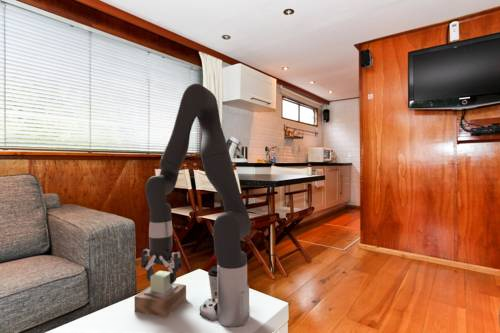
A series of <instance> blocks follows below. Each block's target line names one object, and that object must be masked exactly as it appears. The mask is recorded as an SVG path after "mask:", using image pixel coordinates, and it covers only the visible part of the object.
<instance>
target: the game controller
mask: <svg viewBox="0 0 500 333" xmlns="http://www.w3.org/2000/svg"><path fill="white" fill-rule="evenodd" d="M216 307H217V299H213V298H212V297H211V298H207V299H206V300H205V301H204V302H203V303H202V304H201V305H200V306H199V315H200V316H204V317H207V318H208V319H209V320H211V321H216V320H218V314H217V311H216V310H215V309H216ZM217 308H218V307H217Z"/></svg>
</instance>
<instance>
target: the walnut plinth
mask: <svg viewBox="0 0 500 333" xmlns="http://www.w3.org/2000/svg"><path fill="white" fill-rule="evenodd" d="M186 300H187V285H186V284H181V283H175V282H174V283H173V284H172V287H171V288H169V289H168V290H167V291H166V292H164V293H159V292H153V291H151V285H149V286H147V287H146V288H145V289H143V290H142V291H140V292H139V293H138V294H136V295H134V313H140V314H145V315H152V316H155V317H156V316H157V317H163V318H168V317H169V316H170V315H171V314H172V313H173V312H174V311H176V310H177V309H178V308H179V307H180V306H181V304H183V303H184V302H185V301H186Z"/></svg>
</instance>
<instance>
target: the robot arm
mask: <svg viewBox="0 0 500 333" xmlns="http://www.w3.org/2000/svg"><path fill="white" fill-rule="evenodd" d="M181 96H182V97H181V100H180V102H179V107H178V109H177V113H176V117H175V121H174V124H173V127H172V132H171V134H170V137H169V140H168V142H167V144H166V147H165V149H164V150H163V153H162V154H161V158H160V160H159V166H160V168H161V169H160V173H159V174H158V175H154V176H153V175H152V176H151V177H150V178H148V180H146V184H145V191H144V192H145V196H146V197H145V198H146V201H147V205H148V207H149V226H148V244H149V245H148V247H149V248H145V249H143V250H142V251H141V257H140V258H141V260H140V262H141V263H140V266H141V268H142V269H143V268H144V269H145V270H146V279H147V281H148V282H150V276H152V275H153V274H154V268H153V267H154V266H155V265H161V266H164V267H165V269H168V272H170V284H173V283H174V284H175V283H176V281H177V272H179V271H180V270H182V268H183V267H182V265H183V264H182V253H181V251H177V252H173V222H172V219H173V218H172V206H171V204H170V203H168V202H167V197H166V196H167V195H170V194H171V193H172V192H173V191H174V189H175V187H176V185H177V182H178V178H179V173H180V170H181V167H182V165H183V163H184V162H185V159H186V157H187V155H188V152H189V148H190V147H189V146H190V137H191V132H192V127H193V124H194V122H195V120H196V118H197V121H198V124H199V127H200V131H201V144H200V158H201V159H200V160H201V162H202V165H203V166H202V167H203V170H204V173H205V176H206V178H207V179H208V182H209V183H210V184H211V185H212V187H213V188H214V190H216V192H217V194H218V196H219V197H220V199H221V202H222V205H223V209H224V213H221V214H218V215H217V217H216V218H215V219H214V223H213V232H212V233H213V247H214V250H213V251H214V255H215V258H216V260H217V262H216V266H217V311H216V315H217V322H218V323H219V324H220V325H222V326H224V327H238V326H242V327H243V326H245V324H246V322H247V320H248V319H249V317H250V286H249V284H248V257H247V253H246V252H245V251H244V250H242V248H241V240H242V239H244V238H246V237H247V236H248V235H249V234H250V232H251V228H252V224H251V222H252V221H251V218H250V215H249V212H248V209H247V208H246V205H245V201H244V200H243V196H242V194H241V192H240V188H239V184H238V179H237V177H236V173H235V170H234V169H235V168H234V165H233V161H232V158H231V154H230V150H229V147H228V144H227V140H226V137H225V134H224V131H223V128H222V124H221V119H220V118H221V117H220V112H219V106H218V100H217V98H216V96H215V94H214V93H213V92H212V91H211V90H209V89H208V88H206V87H205V86H203V85H202V84H199V83H192V84H190V85H188V86H187V87H186V88H185V89H184V91H183V93H182V95H181ZM149 257H150V258H149Z"/></svg>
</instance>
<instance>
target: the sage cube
mask: <svg viewBox="0 0 500 333" xmlns="http://www.w3.org/2000/svg"><path fill="white" fill-rule="evenodd" d="M149 282H150V286H151V291H153V292H159V293H164V292H166V291H167V290H168V289H169V288H171V287H172V284H170V271H165V270H158V271H156V272H155V273H153V275H152V276H150V281H149Z"/></svg>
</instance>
